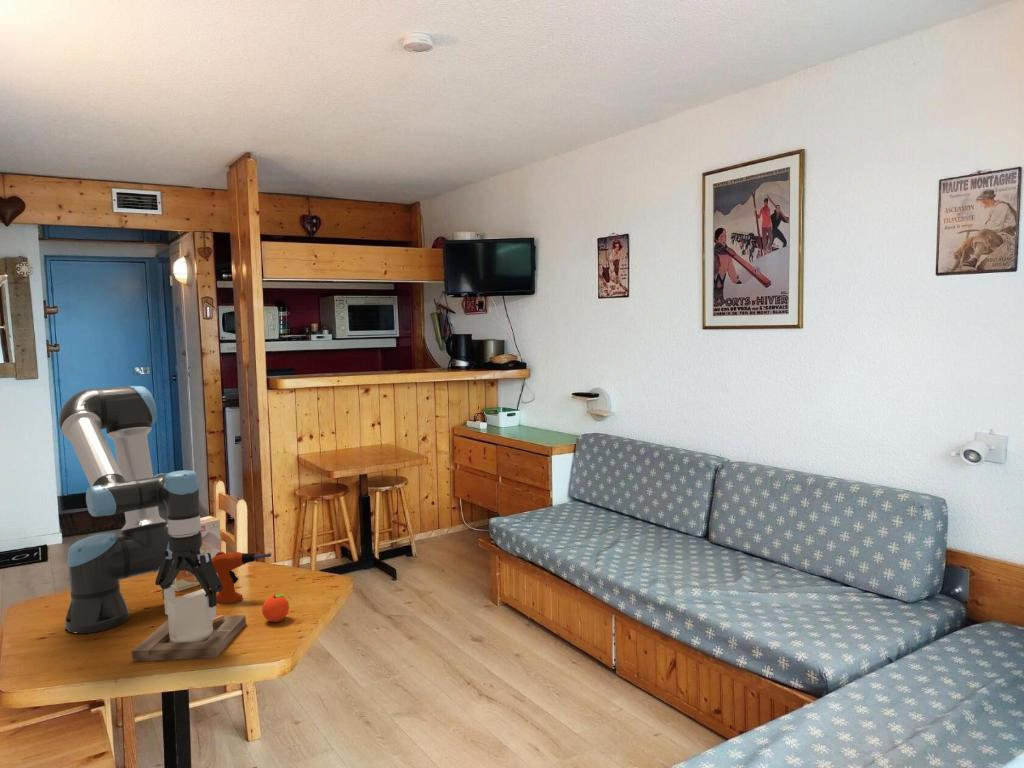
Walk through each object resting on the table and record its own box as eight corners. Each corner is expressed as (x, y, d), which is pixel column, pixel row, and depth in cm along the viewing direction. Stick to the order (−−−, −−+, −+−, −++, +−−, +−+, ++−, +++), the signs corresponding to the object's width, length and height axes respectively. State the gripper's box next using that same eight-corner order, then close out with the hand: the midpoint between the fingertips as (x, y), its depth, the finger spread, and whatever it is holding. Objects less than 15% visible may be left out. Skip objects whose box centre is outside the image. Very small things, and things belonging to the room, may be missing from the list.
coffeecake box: (177, 592, 219) (172, 529, 218) (166, 587, 224) (162, 525, 223) (224, 578, 231) (220, 518, 229) (213, 574, 235) (209, 515, 234)
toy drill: (275, 598, 207) (265, 547, 206) (212, 606, 209) (203, 556, 208) (281, 592, 212) (272, 542, 211) (220, 600, 214) (211, 551, 213)
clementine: (286, 612, 200) (284, 587, 200) (298, 619, 195) (296, 593, 195) (258, 621, 195) (256, 595, 194) (269, 628, 190) (268, 601, 189)
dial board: (132, 661, 173) (131, 650, 172) (170, 627, 193) (169, 617, 192) (216, 658, 173) (215, 647, 173) (245, 624, 193) (245, 614, 193)
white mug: (185, 650, 176) (182, 606, 175) (161, 641, 181) (158, 598, 180) (235, 629, 187) (232, 587, 187) (211, 621, 193) (209, 581, 192)
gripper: (234, 533, 179) (239, 616, 181) (161, 525, 189) (166, 604, 191) (211, 541, 172) (216, 628, 174) (136, 533, 182) (142, 615, 184)
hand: (190, 615), depth 182 cm, fingers open, 13 cm apart
